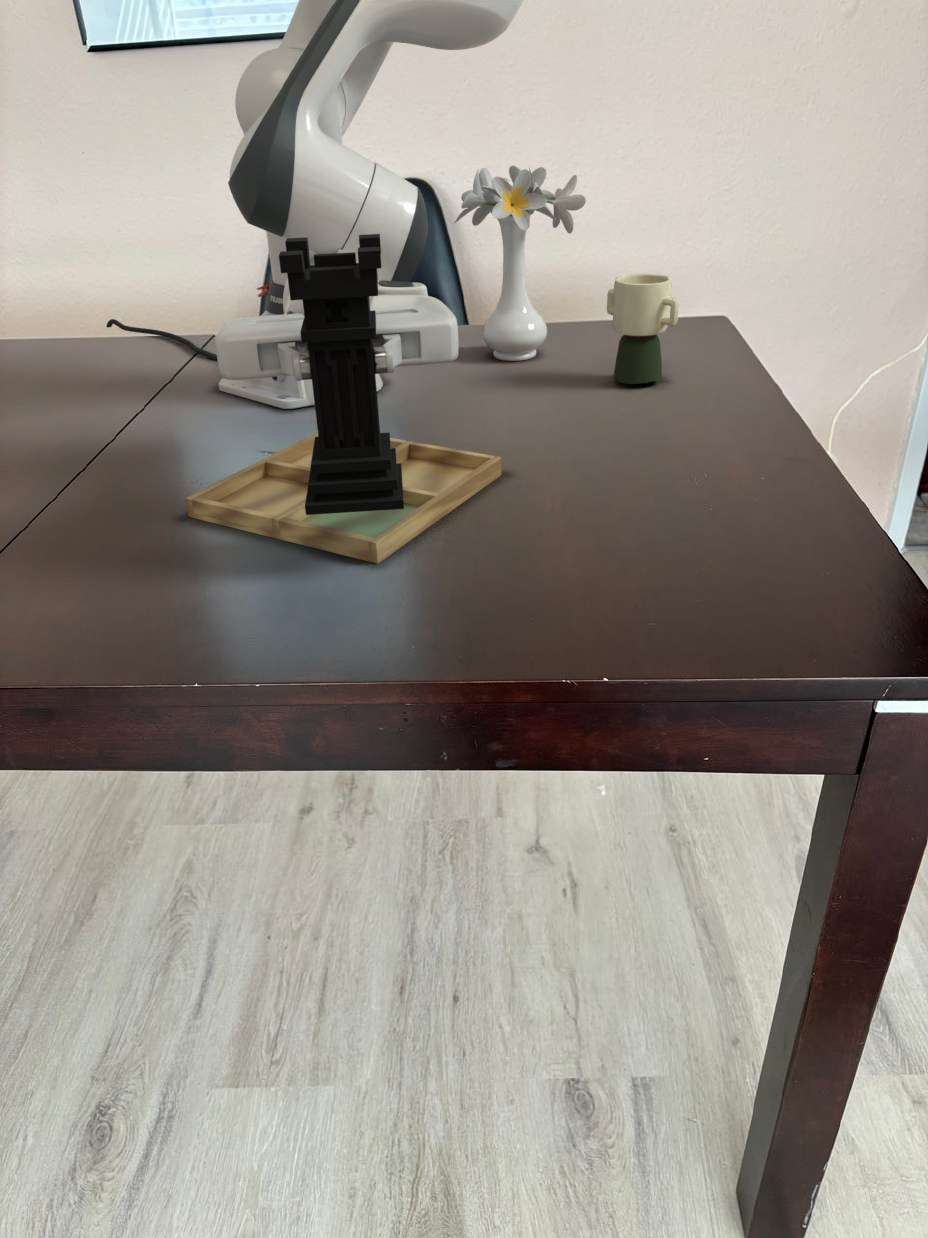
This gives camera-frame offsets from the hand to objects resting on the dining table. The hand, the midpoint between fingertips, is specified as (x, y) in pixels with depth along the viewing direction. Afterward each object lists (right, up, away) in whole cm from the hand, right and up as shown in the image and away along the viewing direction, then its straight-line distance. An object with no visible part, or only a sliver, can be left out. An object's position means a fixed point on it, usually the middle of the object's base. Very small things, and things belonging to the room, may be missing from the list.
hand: (344, 366), depth 75 cm
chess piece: (0, -9, +7) cm, 11 cm away
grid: (-2, -7, +21) cm, 22 cm away
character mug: (+32, +11, +50) cm, 60 cm away
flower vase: (+17, +19, +64) cm, 68 cm away
